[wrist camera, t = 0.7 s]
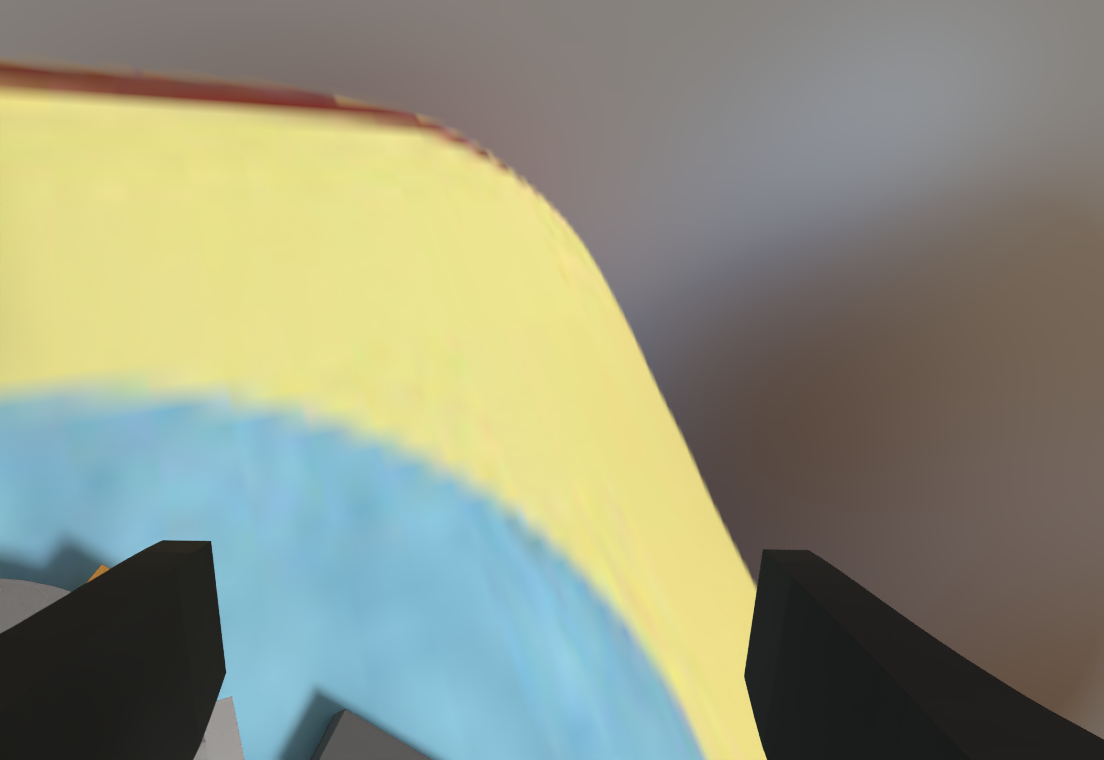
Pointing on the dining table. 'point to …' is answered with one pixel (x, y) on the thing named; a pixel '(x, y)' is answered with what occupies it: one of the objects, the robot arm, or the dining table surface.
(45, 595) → the sprocket
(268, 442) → the dining table surface
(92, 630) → the robot arm
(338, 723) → the pad
